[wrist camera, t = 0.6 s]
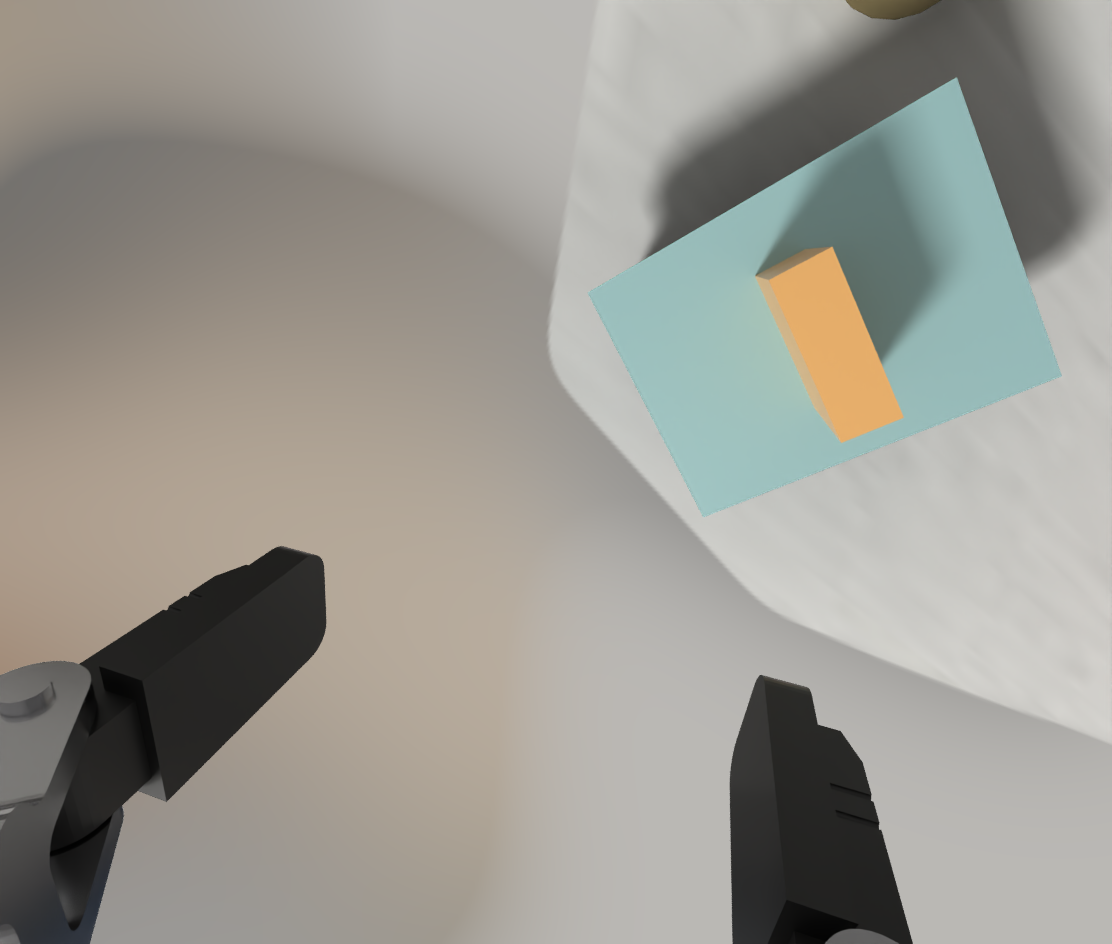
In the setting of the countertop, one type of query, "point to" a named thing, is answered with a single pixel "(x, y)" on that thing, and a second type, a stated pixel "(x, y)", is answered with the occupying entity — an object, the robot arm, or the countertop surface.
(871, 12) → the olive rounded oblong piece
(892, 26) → the countertop surface
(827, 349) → the lid
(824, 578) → the countertop surface
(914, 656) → the countertop surface
